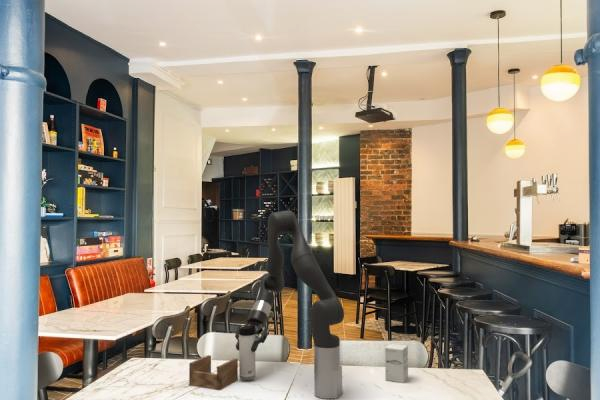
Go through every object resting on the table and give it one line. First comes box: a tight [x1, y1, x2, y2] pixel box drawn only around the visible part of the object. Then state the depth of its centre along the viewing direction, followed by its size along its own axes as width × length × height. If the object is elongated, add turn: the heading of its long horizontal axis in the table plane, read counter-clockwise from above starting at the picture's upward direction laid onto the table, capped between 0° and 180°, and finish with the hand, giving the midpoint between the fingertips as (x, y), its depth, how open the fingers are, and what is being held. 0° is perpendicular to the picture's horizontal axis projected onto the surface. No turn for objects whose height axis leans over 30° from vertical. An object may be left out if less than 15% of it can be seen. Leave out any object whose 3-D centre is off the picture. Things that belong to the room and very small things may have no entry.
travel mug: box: [238, 325, 257, 381], centre depth 181 cm, size 6×7×20 cm
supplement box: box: [384, 343, 409, 384], centre depth 179 cm, size 7×7×13 cm
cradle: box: [188, 354, 239, 391], centre depth 177 cm, size 14×12×8 cm
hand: (245, 350), depth 180 cm, fingers closed on travel mug, 6 cm apart
